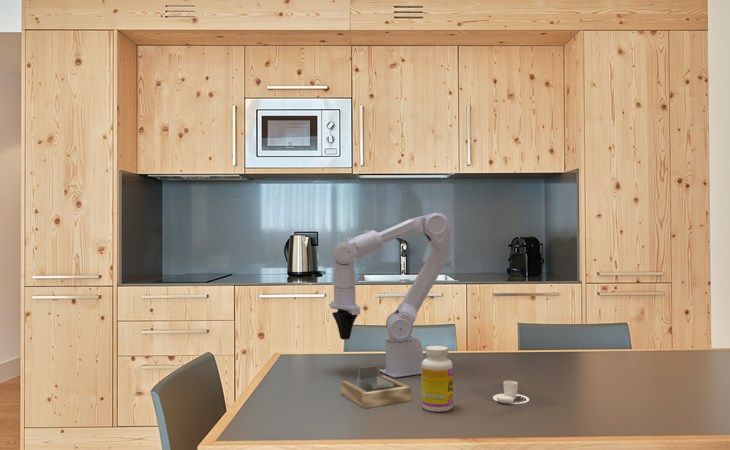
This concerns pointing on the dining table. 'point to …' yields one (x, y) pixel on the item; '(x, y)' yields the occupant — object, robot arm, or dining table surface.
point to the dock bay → (377, 394)
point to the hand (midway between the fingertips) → (345, 338)
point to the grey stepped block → (372, 380)
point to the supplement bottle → (437, 380)
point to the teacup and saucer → (509, 393)
